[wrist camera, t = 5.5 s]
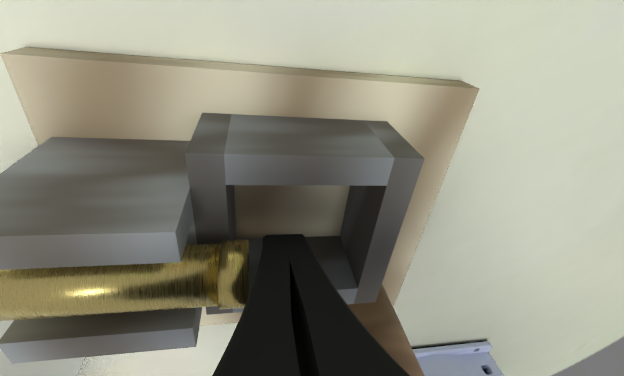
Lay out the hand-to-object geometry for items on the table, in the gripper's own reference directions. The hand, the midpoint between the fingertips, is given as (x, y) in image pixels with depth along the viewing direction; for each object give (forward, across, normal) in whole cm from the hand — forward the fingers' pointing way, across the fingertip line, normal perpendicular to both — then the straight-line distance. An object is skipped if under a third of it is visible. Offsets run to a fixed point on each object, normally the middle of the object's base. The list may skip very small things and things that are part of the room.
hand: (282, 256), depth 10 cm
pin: (0, +6, 0) cm, 6 cm away
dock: (+5, 0, +2) cm, 5 cm away
